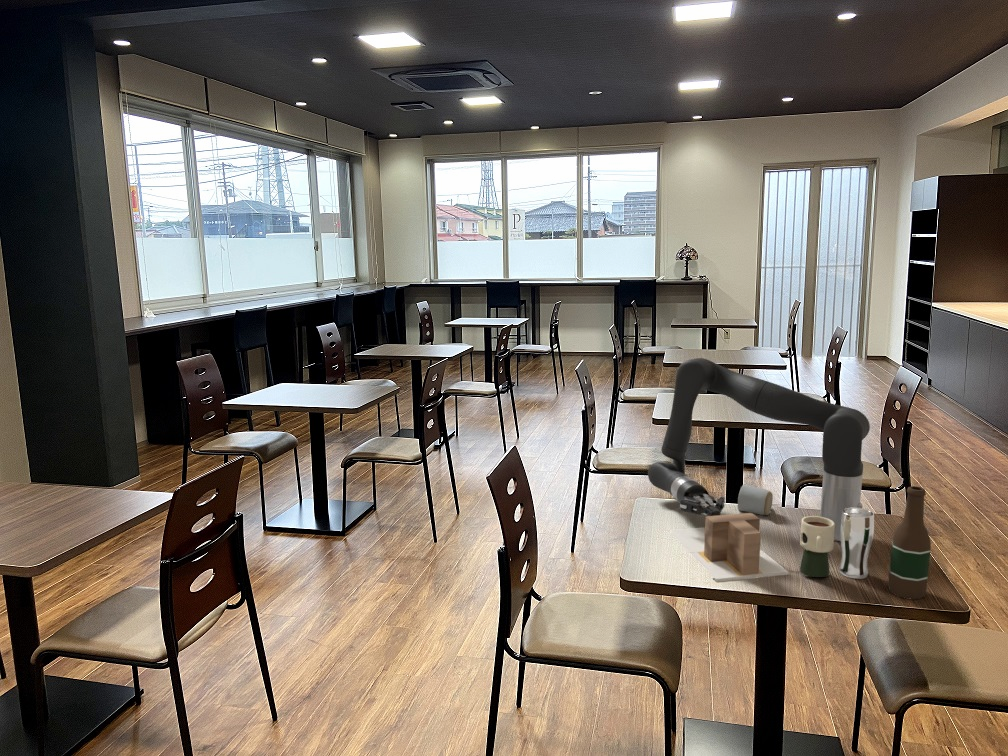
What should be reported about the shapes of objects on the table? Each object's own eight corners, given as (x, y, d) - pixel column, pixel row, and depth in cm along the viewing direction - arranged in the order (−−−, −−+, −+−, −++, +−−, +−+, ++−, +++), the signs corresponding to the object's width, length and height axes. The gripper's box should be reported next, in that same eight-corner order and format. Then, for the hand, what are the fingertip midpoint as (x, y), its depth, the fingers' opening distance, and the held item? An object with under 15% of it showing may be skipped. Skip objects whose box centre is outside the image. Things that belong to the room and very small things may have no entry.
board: (667, 532, 203) (667, 530, 203) (730, 527, 206) (730, 525, 206) (715, 581, 175) (715, 578, 175) (788, 574, 178) (788, 571, 178)
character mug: (796, 562, 184) (800, 511, 181) (828, 566, 182) (832, 514, 179) (799, 582, 174) (802, 528, 171) (833, 586, 171) (837, 532, 169)
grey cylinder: (766, 520, 211) (768, 493, 209) (736, 514, 215) (737, 488, 213) (775, 508, 219) (777, 482, 218) (746, 503, 224) (748, 478, 222)
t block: (703, 555, 187) (705, 516, 185) (749, 551, 189) (751, 512, 187) (726, 576, 176) (728, 535, 174) (774, 572, 178) (777, 531, 176)
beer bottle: (933, 600, 165) (945, 494, 160) (897, 600, 165) (907, 494, 160) (915, 583, 172) (925, 482, 168) (880, 583, 173) (889, 482, 168)
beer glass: (867, 582, 173) (873, 519, 170) (834, 575, 177) (839, 514, 174) (871, 570, 179) (877, 510, 176) (839, 564, 183) (844, 504, 180)
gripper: (666, 481, 208) (692, 503, 191) (712, 478, 210) (742, 499, 194) (665, 508, 210) (692, 531, 193) (711, 504, 212) (741, 527, 195)
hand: (717, 515), depth 193 cm, fingers closed
